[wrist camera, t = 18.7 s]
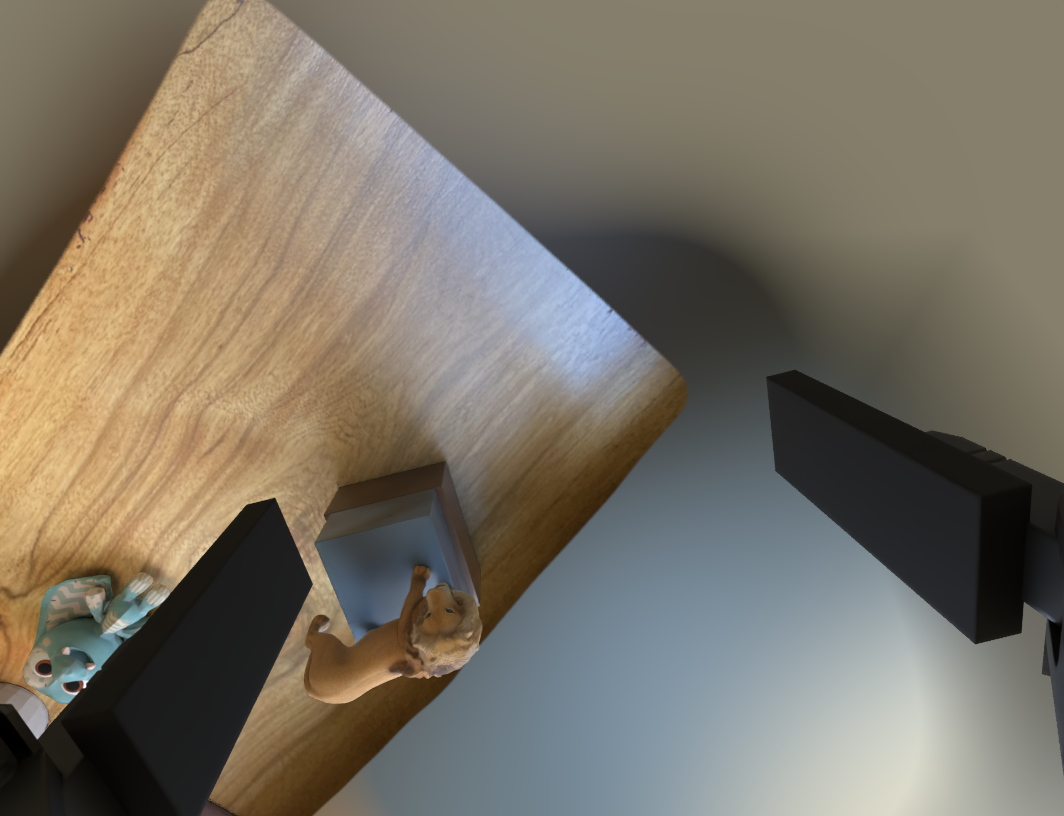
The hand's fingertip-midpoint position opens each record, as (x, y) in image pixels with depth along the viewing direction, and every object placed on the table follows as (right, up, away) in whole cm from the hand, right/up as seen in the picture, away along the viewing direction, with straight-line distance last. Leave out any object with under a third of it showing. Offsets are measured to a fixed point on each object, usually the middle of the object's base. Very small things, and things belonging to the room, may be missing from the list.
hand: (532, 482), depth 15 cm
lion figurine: (-9, -11, +25) cm, 29 cm away
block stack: (-10, -8, +32) cm, 35 cm away
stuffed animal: (-35, -16, +33) cm, 51 cm away
